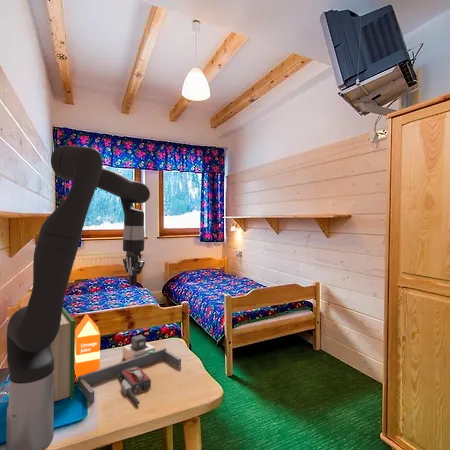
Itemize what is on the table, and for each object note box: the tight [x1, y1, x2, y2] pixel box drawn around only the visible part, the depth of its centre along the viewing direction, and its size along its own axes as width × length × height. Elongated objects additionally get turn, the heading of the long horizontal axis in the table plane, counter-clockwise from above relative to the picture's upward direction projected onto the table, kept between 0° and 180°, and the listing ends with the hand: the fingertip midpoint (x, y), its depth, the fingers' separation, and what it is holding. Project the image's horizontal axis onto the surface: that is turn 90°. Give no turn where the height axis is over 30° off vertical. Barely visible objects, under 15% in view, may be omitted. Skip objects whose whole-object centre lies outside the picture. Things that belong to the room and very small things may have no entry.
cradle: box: [77, 347, 182, 404], centre depth 105 cm, size 33×11×4 cm, turn 134°
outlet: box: [122, 341, 156, 361], centre depth 118 cm, size 9×9×4 cm
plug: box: [131, 334, 147, 351], centre depth 118 cm, size 4×4×8 cm
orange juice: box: [74, 313, 101, 379], centre depth 106 cm, size 8×9×20 cm
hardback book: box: [50, 306, 76, 402], centre depth 95 cm, size 18×7×24 cm, turn 39°
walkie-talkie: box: [118, 366, 152, 405], centre depth 98 cm, size 9×4×20 cm
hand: (132, 285), depth 109 cm, fingers closed
